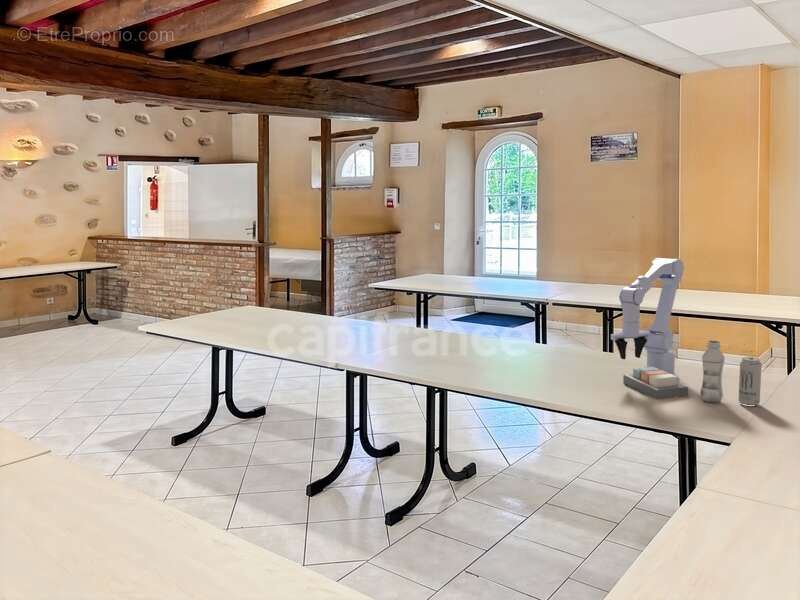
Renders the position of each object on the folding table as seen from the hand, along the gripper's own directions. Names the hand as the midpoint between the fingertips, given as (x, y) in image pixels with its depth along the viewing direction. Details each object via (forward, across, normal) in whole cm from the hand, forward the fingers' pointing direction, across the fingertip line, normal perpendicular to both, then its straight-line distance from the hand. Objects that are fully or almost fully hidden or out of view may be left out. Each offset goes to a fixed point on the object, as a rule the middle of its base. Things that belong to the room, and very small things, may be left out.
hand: (630, 358), depth 232 cm
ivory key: (+7, -4, +14) cm, 16 cm away
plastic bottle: (+10, -13, +27) cm, 31 cm away
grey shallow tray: (+9, -4, +9) cm, 14 cm away
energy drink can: (+10, -22, +33) cm, 41 cm away
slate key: (+7, -4, +4) cm, 9 cm away
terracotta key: (+7, -4, +9) cm, 12 cm away
